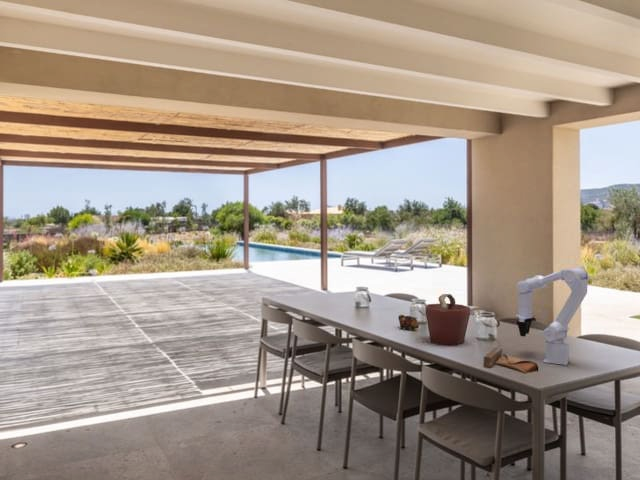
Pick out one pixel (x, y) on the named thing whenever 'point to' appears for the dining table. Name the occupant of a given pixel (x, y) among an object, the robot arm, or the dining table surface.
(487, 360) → the stop bar
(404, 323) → the decorative turtle
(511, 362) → the sunglasses case
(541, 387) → the dining table surface
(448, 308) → the bucket
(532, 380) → the dining table surface
